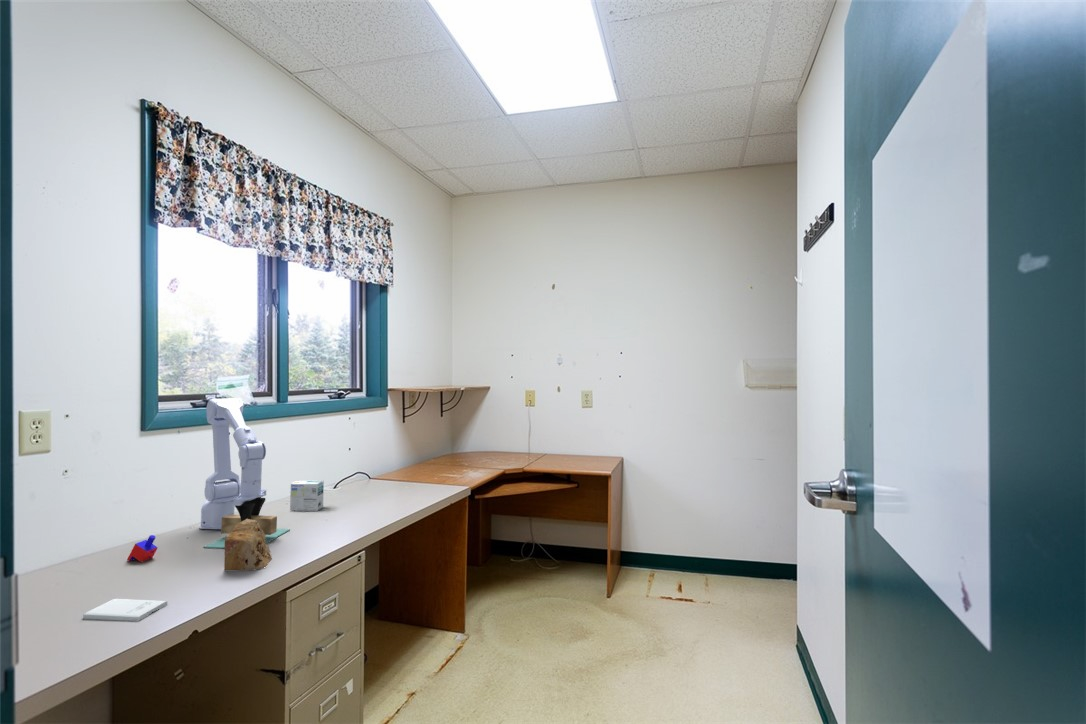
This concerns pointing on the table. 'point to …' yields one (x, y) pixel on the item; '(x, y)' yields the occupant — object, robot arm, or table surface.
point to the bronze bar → (265, 522)
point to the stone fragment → (246, 547)
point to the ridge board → (279, 532)
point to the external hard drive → (124, 609)
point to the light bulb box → (306, 495)
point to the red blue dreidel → (143, 550)
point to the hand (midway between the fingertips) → (249, 523)
